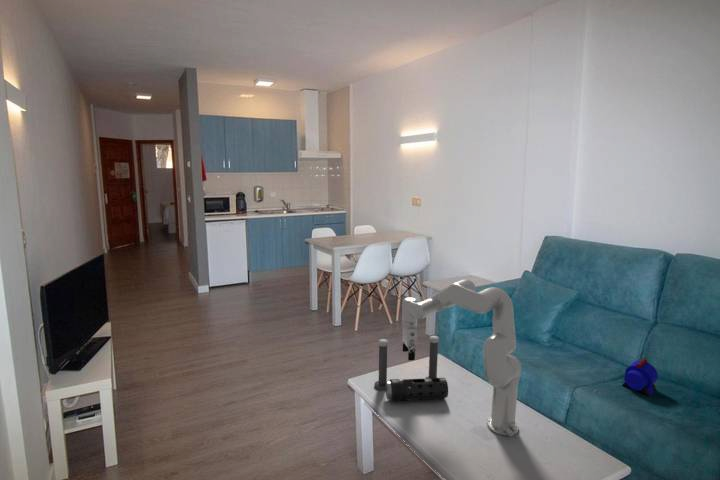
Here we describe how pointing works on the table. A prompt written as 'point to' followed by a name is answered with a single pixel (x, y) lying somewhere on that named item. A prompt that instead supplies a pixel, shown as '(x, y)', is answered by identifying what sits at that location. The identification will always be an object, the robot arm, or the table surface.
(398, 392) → the muzzle brake
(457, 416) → the table surface
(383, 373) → the cord post
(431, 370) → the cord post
